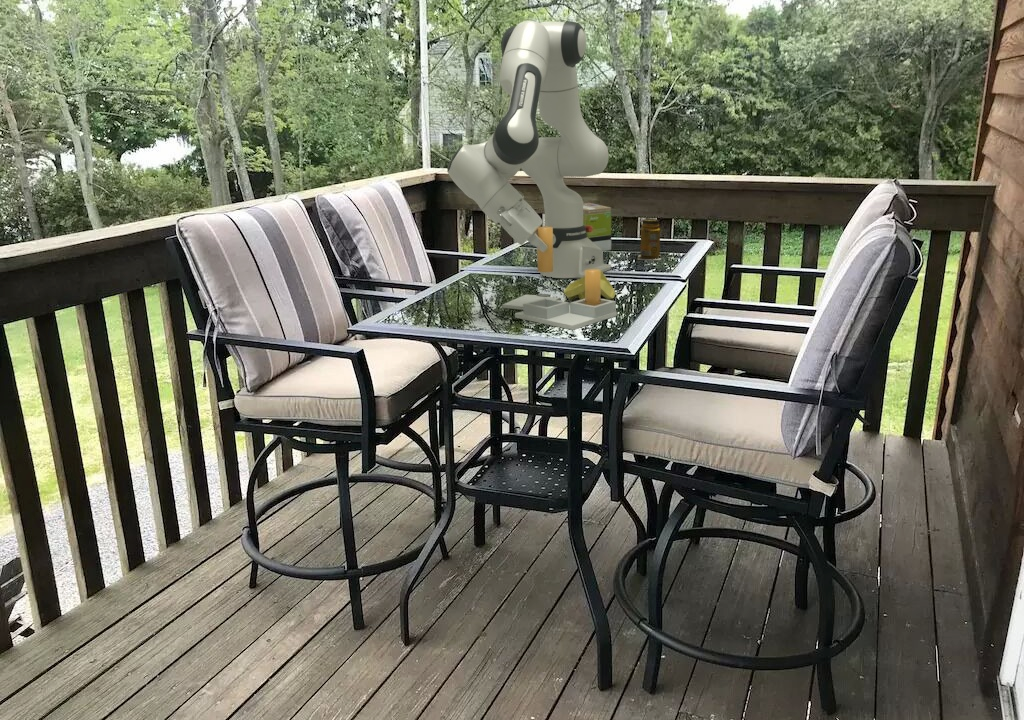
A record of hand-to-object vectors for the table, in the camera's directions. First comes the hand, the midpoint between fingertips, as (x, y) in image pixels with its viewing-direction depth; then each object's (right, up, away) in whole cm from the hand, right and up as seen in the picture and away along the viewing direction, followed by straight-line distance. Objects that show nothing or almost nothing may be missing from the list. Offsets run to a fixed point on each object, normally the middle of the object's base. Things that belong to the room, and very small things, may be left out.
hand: (547, 247), depth 188 cm
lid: (-3, -12, +18) cm, 22 cm away
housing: (+5, -16, +5) cm, 17 cm away
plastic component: (+11, -11, +21) cm, 26 cm away
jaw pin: (0, -5, +2) cm, 5 cm away
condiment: (+36, +7, +73) cm, 81 cm away
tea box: (+18, +12, +92) cm, 95 cm away
